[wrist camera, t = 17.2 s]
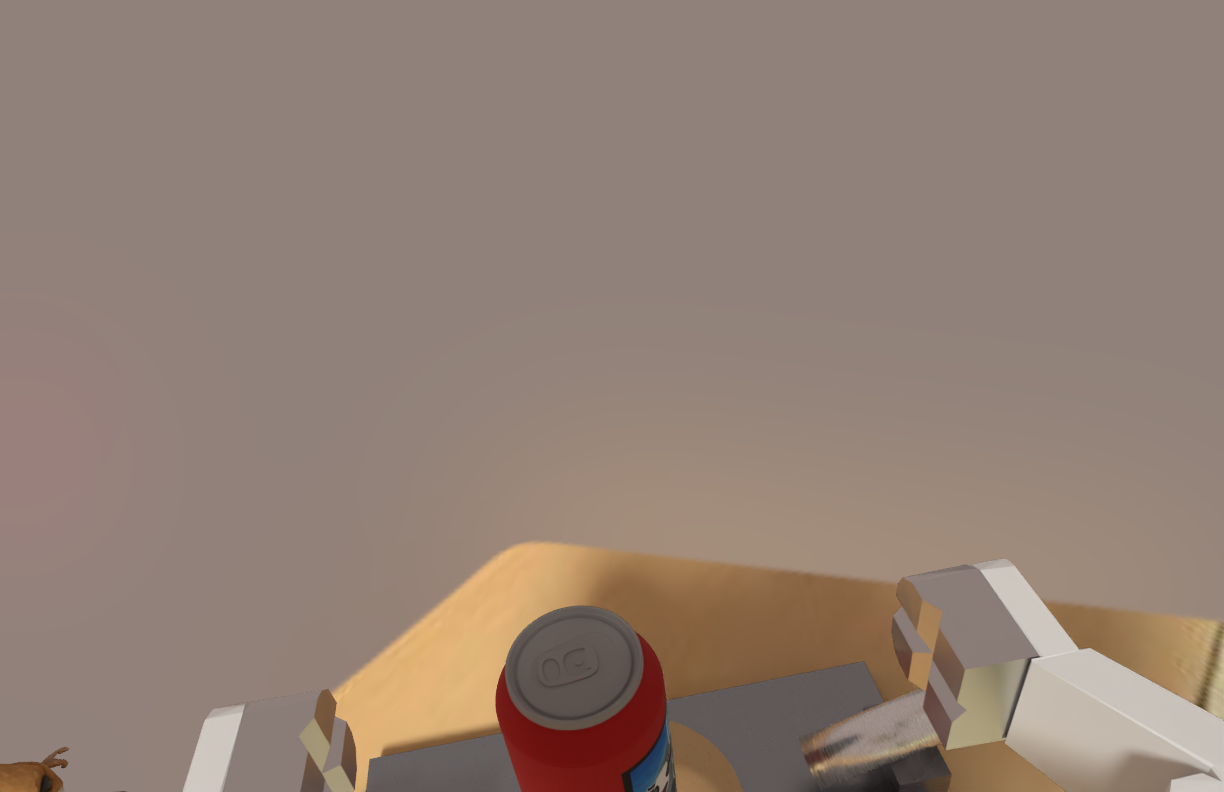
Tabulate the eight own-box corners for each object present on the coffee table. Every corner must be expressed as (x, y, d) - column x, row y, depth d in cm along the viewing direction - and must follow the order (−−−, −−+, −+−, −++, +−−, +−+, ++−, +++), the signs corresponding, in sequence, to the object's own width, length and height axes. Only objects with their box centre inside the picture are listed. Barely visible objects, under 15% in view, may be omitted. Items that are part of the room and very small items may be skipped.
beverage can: (701, 867, 35) (686, 708, 28) (553, 919, 34) (500, 767, 27) (654, 733, 41) (632, 573, 34) (525, 775, 40) (475, 618, 33)
